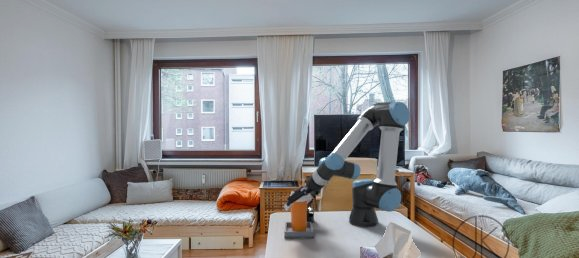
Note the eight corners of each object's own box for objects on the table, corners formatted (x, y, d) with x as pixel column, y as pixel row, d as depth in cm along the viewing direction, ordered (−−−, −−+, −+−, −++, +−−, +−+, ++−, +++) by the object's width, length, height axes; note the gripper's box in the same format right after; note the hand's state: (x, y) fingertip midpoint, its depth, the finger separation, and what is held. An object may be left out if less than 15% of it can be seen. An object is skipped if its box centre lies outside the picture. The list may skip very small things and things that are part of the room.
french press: (316, 223, 159) (316, 180, 158) (298, 224, 157) (298, 181, 157) (311, 216, 170) (311, 176, 170) (295, 217, 169) (295, 177, 168)
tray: (311, 227, 153) (311, 221, 153) (313, 238, 139) (313, 231, 139) (285, 227, 153) (284, 221, 153) (284, 238, 139) (284, 231, 139)
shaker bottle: (306, 235, 141) (306, 193, 140) (288, 233, 143) (287, 192, 142) (309, 228, 149) (309, 188, 149) (292, 227, 151) (291, 188, 151)
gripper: (304, 191, 126) (280, 218, 137) (339, 182, 143) (315, 206, 154) (295, 176, 129) (272, 204, 140) (330, 169, 147) (308, 194, 158)
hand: (295, 205), depth 147 cm, fingers open, 13 cm apart
